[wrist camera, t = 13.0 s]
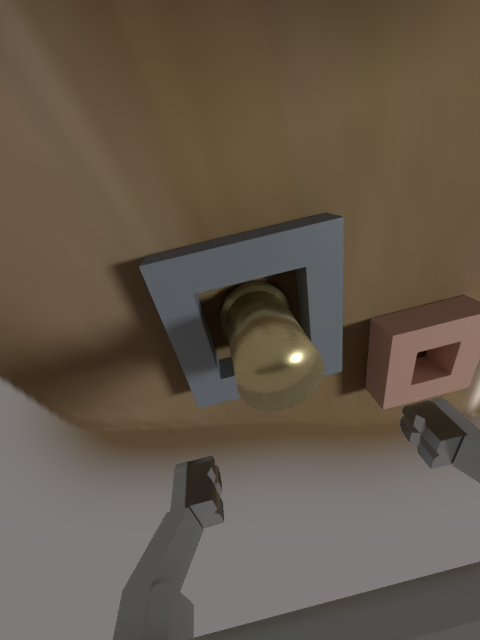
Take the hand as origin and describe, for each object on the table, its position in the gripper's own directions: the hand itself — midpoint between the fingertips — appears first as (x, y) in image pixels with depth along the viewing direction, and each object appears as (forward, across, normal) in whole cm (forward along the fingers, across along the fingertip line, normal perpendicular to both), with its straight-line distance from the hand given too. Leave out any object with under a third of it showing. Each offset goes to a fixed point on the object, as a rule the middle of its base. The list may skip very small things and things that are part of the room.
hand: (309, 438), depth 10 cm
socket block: (+12, 0, 0) cm, 12 cm away
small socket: (+12, -15, +8) cm, 21 cm away
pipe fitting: (+12, 0, 0) cm, 12 cm away
